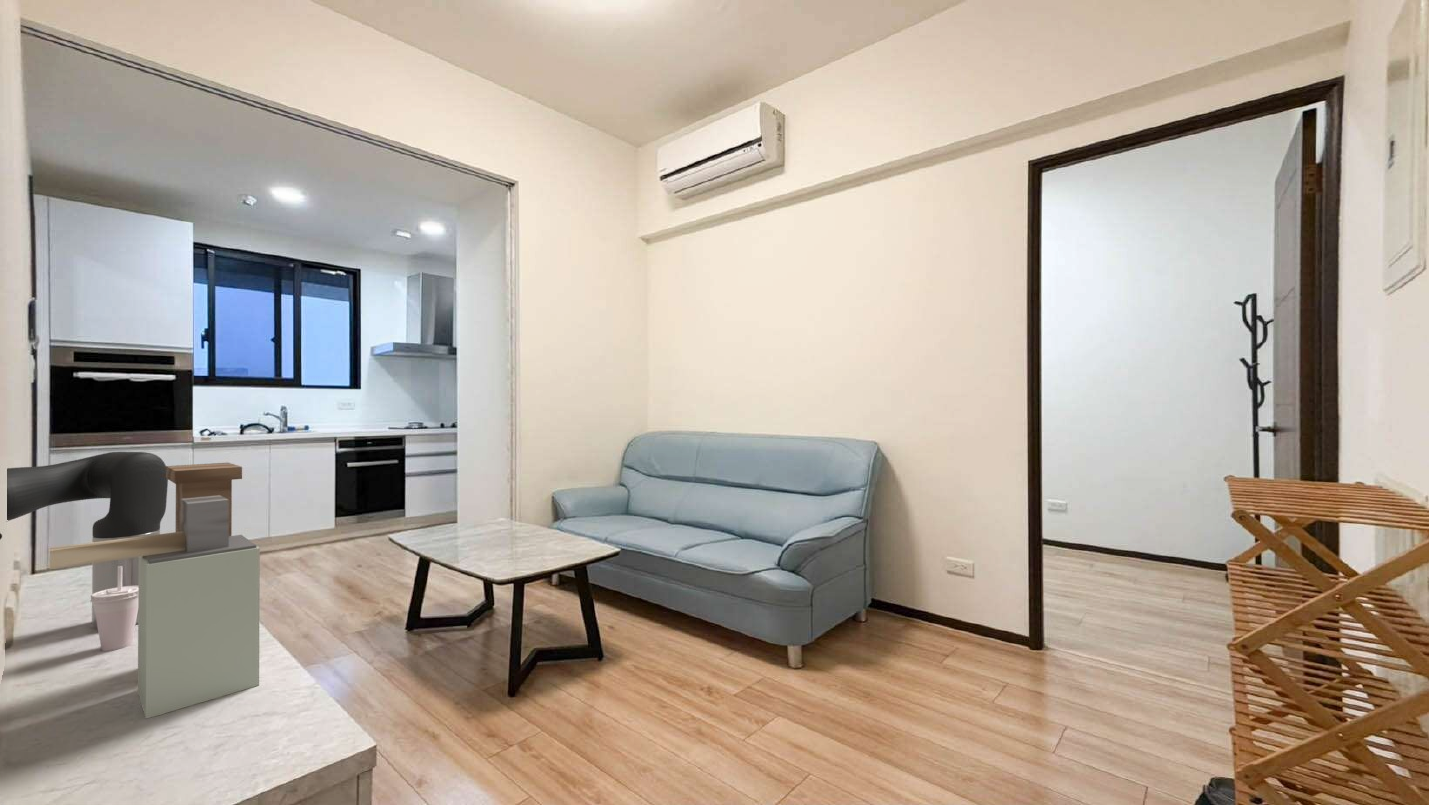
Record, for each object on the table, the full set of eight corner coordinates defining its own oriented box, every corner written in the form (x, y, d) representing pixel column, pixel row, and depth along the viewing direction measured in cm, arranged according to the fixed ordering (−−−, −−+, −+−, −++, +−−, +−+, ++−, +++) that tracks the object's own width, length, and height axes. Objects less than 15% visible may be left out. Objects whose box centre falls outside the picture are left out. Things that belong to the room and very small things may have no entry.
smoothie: (107, 655, 95) (108, 572, 95) (79, 652, 96) (80, 570, 96) (152, 640, 101) (153, 562, 101) (125, 637, 102) (126, 560, 102)
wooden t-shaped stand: (164, 656, 94) (166, 466, 95) (227, 640, 100) (228, 462, 101) (174, 678, 86) (175, 471, 87) (241, 660, 93) (242, 466, 93)
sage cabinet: (137, 690, 83) (138, 548, 83) (242, 662, 92) (243, 534, 92) (145, 719, 75) (146, 562, 75) (259, 685, 84) (259, 545, 84)
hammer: (49, 563, 75) (50, 510, 75) (219, 539, 88) (220, 495, 88) (49, 572, 70) (49, 517, 71) (228, 546, 84) (228, 499, 84)
